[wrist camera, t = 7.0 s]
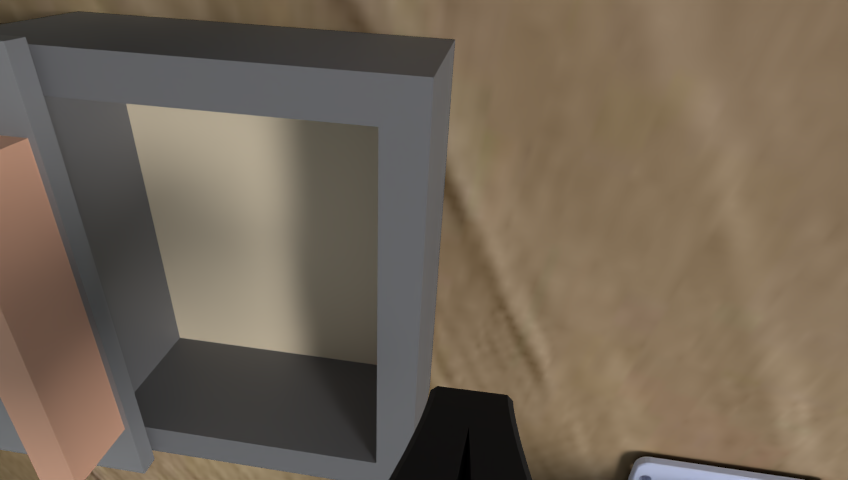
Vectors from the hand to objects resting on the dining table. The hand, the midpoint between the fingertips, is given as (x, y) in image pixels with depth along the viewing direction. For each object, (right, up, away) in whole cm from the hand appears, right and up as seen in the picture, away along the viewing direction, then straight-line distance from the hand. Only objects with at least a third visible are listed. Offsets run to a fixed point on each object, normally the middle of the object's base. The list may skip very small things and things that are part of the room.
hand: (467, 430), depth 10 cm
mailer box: (-6, +4, +10) cm, 13 cm away
